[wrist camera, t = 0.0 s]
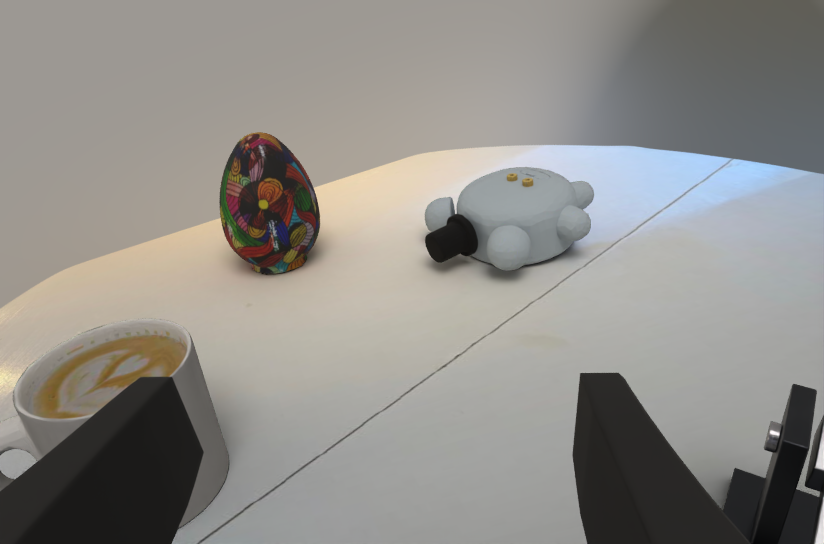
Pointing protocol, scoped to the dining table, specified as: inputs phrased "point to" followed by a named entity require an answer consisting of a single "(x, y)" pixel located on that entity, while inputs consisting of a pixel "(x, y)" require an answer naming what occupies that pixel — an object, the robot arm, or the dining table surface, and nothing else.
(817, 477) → the lever
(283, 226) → the egg
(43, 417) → the coffee mug
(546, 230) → the figurine
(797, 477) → the bracket
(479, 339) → the dining table surface
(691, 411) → the dining table surface
